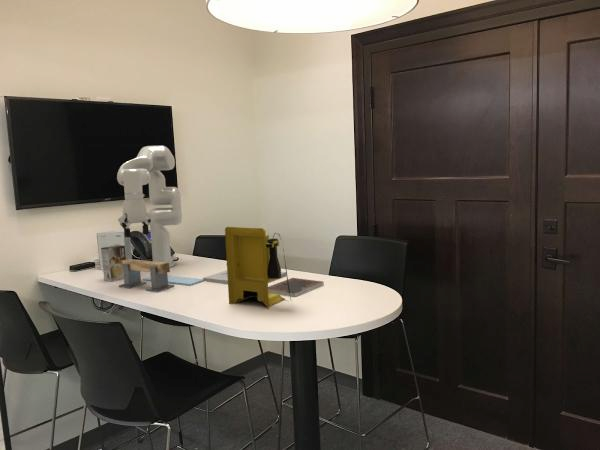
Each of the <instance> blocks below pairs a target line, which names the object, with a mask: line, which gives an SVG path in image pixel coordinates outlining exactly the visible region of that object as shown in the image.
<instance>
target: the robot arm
mask: <svg viewBox="0 0 600 450" xmlns="http://www.w3.org/2000/svg"><path fill="white" fill-rule="evenodd" d="M175 161H176V160H175V156H174V155H173V154H172V152H171V150H170V149H169V148H168V147H167V146H165V145H147V146H143V147H142V148H141V149H140V150H139V152H138V154H137V156H136V157H135V158H133V159H130V160H128V161H126V162H124V163H123V164H122V165H120V167H119V169H118V172H117V175H116V180H117V182H118V184H119V185H121V186H123V188H124V191H123V192H124V201H123V203H122V216H120V217H119V218H118V219H117V221H118V222H119V225H120V226H121V227H122V229H123V231H124V235H125V237H130V238H131V228H130V226H131V224H138V223H141V224H142V234H143V235H149V234H150V240H151V241H150V242H151V252H152V261H154V262H165V263H167V262H168V263H169V267H170V268H171V267H174V266H175V262H174V261H177V260H178V256H172V253H171V240H170V232H169V231H168V229H167V228H166V226H178V225H180V224H181V223H182V219H183V217H182V216H183V213H182V198H181V192H180V190H179V188H178V187H176V186H167V185H166V178H165V175H164V174H163V173H162V172H161V171H170V170H173V169H174V168H175V164H176V162H175ZM145 185H148V194H149V195H148V197H149V201H150V203H151V204H152V205H153V206H171V207H155V208H151V209H149V210H148V211H147V206H146V202H145V200H144V197H145V196H146V195H145V194H144V193H143V186H145ZM149 230H150V233H149Z"/></svg>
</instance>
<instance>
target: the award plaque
mask: <svg viewBox="0 0 600 450" xmlns="http://www.w3.org/2000/svg"><path fill="white" fill-rule="evenodd" d="M284 277H287V275H286V271H281V278H280V279H282V278H284ZM202 279H203V280H204V281H206V282H205V283H215V284H222V285H228V275H227V269H226V270H224V271H220V272H216V273H214V274H210V275H207V276H205V277H202ZM204 281H203V282H204ZM274 281H275V280H271V282H274Z"/></svg>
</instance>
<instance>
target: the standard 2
mask: <svg viewBox="0 0 600 450" xmlns="http://www.w3.org/2000/svg"><path fill="white" fill-rule="evenodd" d="M149 273H150V276H151V281H150V284H151V285H150V287H147V288H145V291H146V292H154V293H159V292H162V290H163V291H165V289H166V290H169V289H172V288H174V287H175V284H170V283H168V275H169V274H168V273H164V274H160V273H157V267H155V266H151V267H150V272H149Z"/></svg>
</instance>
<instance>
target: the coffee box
mask: <svg viewBox="0 0 600 450" xmlns="http://www.w3.org/2000/svg"><path fill="white" fill-rule="evenodd" d="M101 252H102V262H103V269H102V271H103V280H104V281H106V280H108V282H115V281H114V280H116V281H119V280H118V279H120V280H124V279H123V278H124V273H123V269H121V260H125V259H126V255H125V246H122V245H114V246H109V247H103V248H101Z"/></svg>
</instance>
